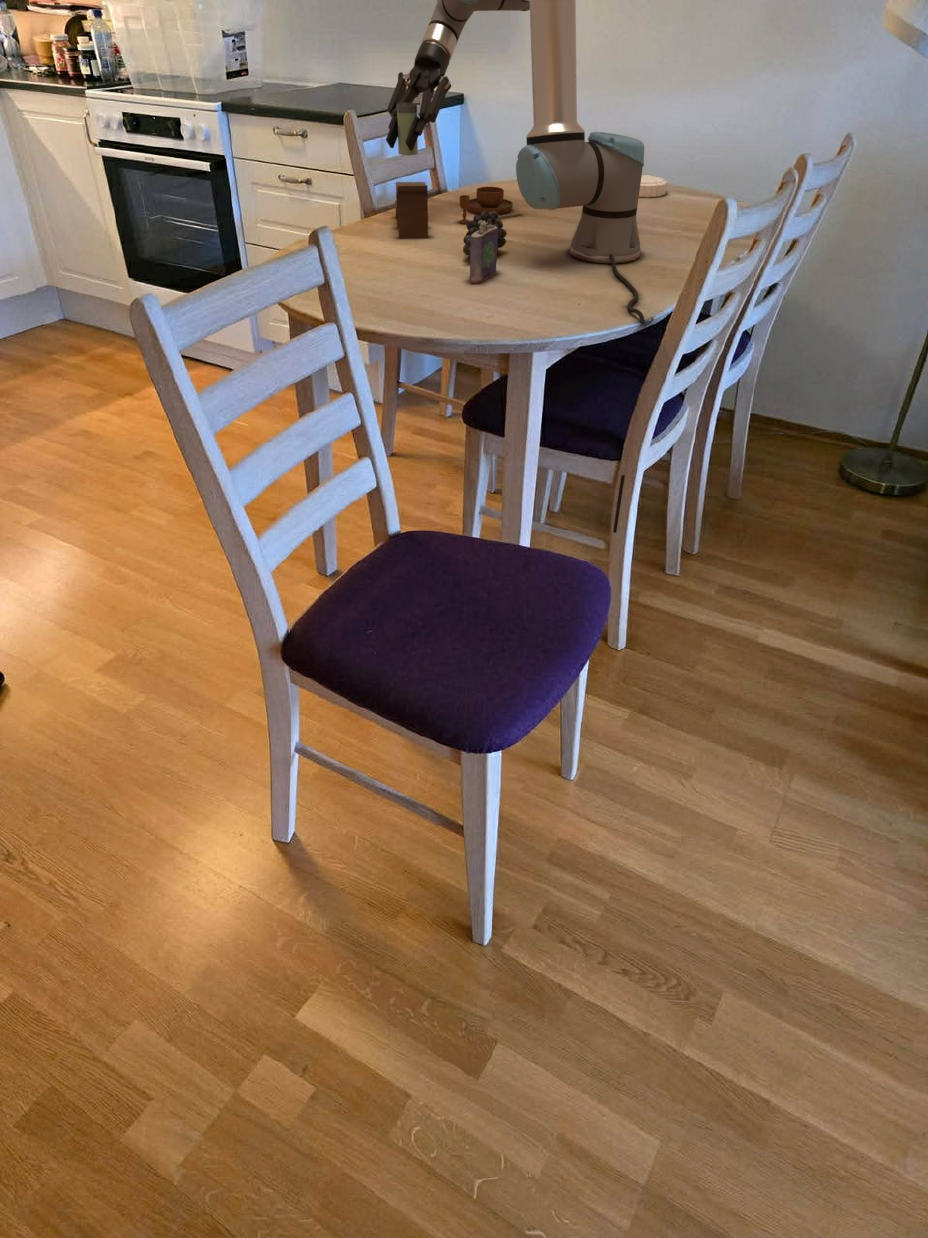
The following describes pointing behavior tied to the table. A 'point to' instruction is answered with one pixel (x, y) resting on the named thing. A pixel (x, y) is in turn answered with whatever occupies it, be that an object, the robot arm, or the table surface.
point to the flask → (483, 253)
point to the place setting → (486, 202)
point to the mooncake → (652, 186)
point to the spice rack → (412, 209)
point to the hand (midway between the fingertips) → (399, 144)
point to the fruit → (491, 220)
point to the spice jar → (406, 126)
